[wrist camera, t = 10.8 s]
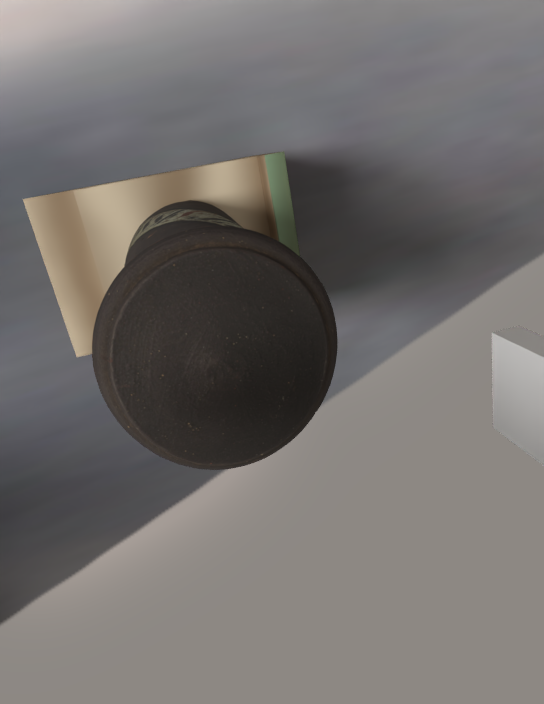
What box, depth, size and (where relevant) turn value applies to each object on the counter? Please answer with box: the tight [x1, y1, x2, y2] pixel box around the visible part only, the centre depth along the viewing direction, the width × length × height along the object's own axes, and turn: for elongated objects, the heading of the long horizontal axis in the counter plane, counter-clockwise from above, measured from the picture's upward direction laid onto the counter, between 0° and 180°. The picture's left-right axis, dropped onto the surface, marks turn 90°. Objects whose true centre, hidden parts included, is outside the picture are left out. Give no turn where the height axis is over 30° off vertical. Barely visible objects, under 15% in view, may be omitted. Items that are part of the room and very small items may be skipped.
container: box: [92, 200, 337, 470], centre depth 26 cm, size 9×9×20 cm
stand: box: [23, 152, 300, 357], centre depth 37 cm, size 17×12×10 cm
